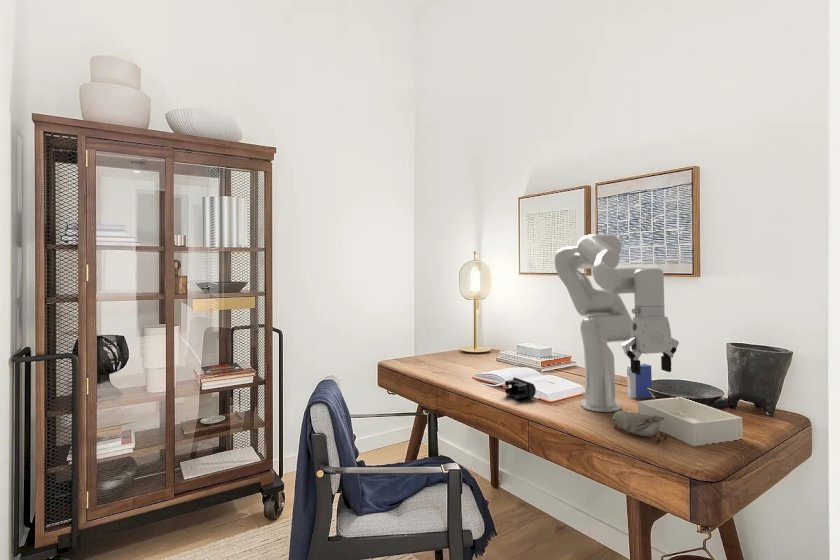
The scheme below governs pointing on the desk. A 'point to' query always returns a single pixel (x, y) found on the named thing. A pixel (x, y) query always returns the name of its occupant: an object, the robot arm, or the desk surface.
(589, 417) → the desk surface
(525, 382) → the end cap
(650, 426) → the decorative bird
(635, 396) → the walkman
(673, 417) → the walled box
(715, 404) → the disk drive
